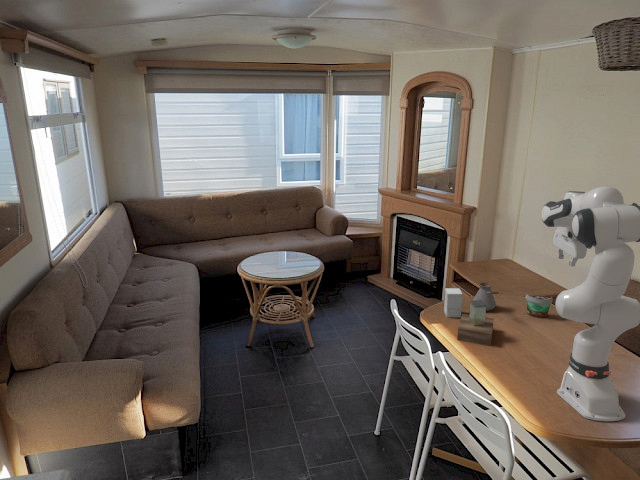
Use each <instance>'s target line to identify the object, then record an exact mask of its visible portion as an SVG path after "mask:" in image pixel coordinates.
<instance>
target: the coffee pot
mask: <svg viewBox="0 0 640 480" xmlns="http://www.w3.org/2000/svg"><path fill="white" fill-rule="evenodd" d="M478 287H479V289H478V291H477V292H476V294H475V296H474V298H473V299H472V301H473V300H482V301H483V302H484V303H485V304H486V312H490V311H491V310H493V309H495V307H496V306H497V302H496V300H495V297H494V295H496V298H497V297H500V295H501V293H500V292H498V291H492V288H493V284H492V283H490V282H480V283H478ZM498 294H499V296H497V295H498Z"/></svg>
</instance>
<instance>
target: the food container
mask: <svg viewBox="0 0 640 480" xmlns="http://www.w3.org/2000/svg"><path fill="white" fill-rule="evenodd" d="M524 298H525V299H526V314H527V315H529V316H530V317H533V318H537V319H545V318H547V317H548V315H549V311H550V307H551V304H552V303H553V300H554V298H553V296H551V297H545V296H540V295H529V294H526V295H525V297H524Z"/></svg>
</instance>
